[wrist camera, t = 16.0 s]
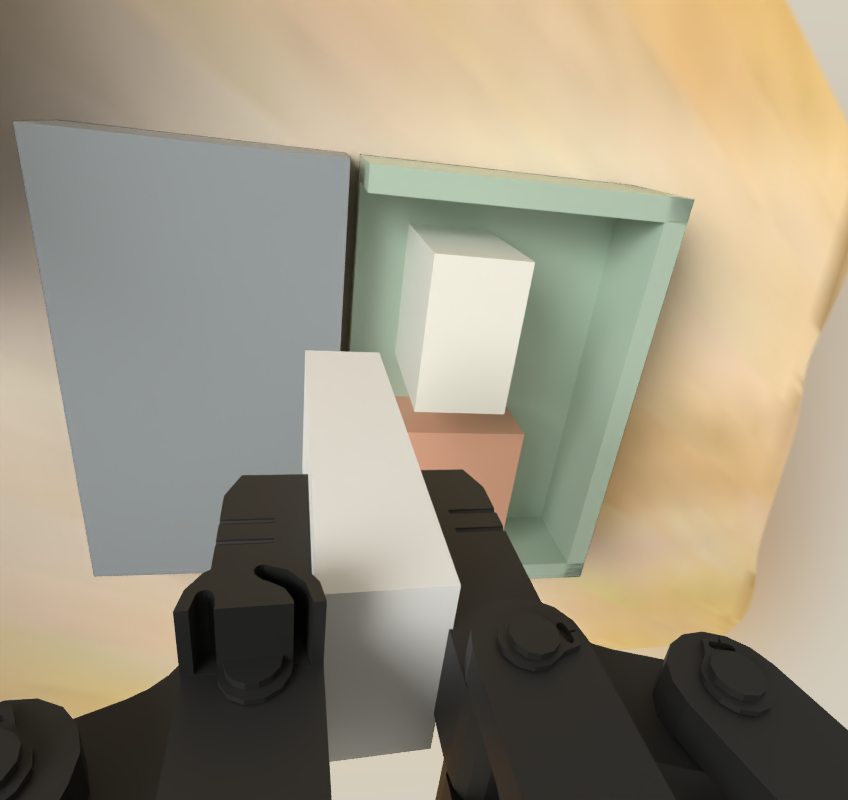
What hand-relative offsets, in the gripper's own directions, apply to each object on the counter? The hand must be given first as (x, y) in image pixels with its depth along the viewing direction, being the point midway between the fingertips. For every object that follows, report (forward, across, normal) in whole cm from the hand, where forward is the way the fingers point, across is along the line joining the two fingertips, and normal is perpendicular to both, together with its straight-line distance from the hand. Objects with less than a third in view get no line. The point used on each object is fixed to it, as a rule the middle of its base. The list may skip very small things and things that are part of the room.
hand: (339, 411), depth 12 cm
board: (+11, -4, -4) cm, 12 cm away
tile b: (+7, +3, 0) cm, 8 cm away
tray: (+11, +6, -4) cm, 13 cm away
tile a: (+10, +5, -7) cm, 13 cm away
